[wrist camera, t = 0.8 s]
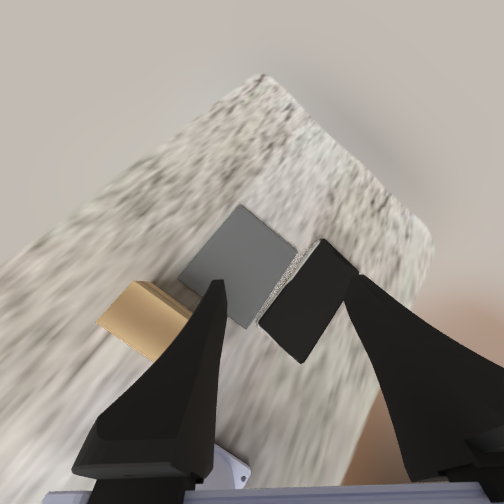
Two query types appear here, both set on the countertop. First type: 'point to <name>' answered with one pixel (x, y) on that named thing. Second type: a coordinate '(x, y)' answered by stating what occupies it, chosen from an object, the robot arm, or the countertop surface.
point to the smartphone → (308, 300)
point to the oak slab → (145, 318)
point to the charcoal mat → (240, 264)
